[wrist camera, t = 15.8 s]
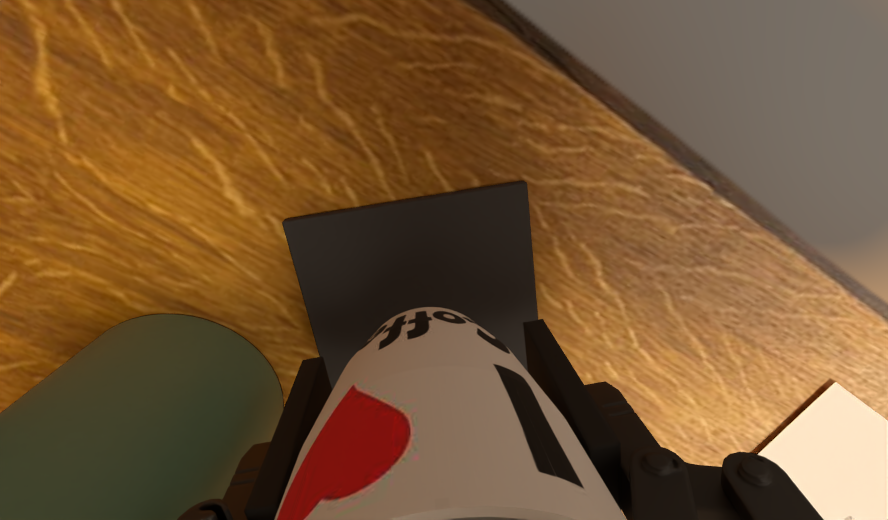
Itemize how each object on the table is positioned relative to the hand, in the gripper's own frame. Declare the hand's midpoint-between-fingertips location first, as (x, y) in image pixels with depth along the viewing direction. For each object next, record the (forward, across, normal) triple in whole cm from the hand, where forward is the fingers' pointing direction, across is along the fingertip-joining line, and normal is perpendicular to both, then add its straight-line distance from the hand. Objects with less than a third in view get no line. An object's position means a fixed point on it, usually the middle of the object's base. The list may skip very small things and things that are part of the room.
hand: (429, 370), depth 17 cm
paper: (+5, +20, -23) cm, 31 cm away
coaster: (+5, 0, 0) cm, 5 cm away
